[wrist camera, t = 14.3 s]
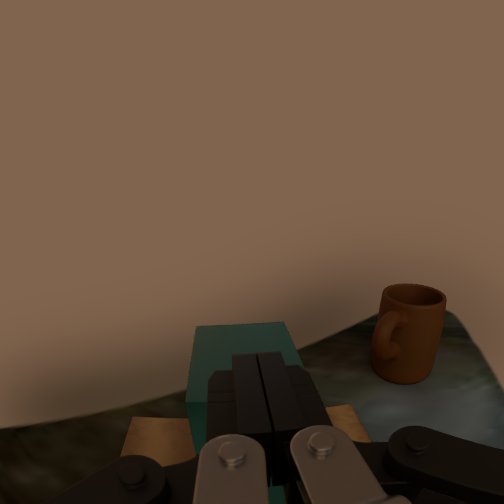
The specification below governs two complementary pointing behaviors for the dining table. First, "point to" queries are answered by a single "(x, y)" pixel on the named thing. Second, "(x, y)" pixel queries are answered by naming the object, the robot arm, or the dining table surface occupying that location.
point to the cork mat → (181, 444)
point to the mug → (407, 332)
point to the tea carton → (219, 358)
